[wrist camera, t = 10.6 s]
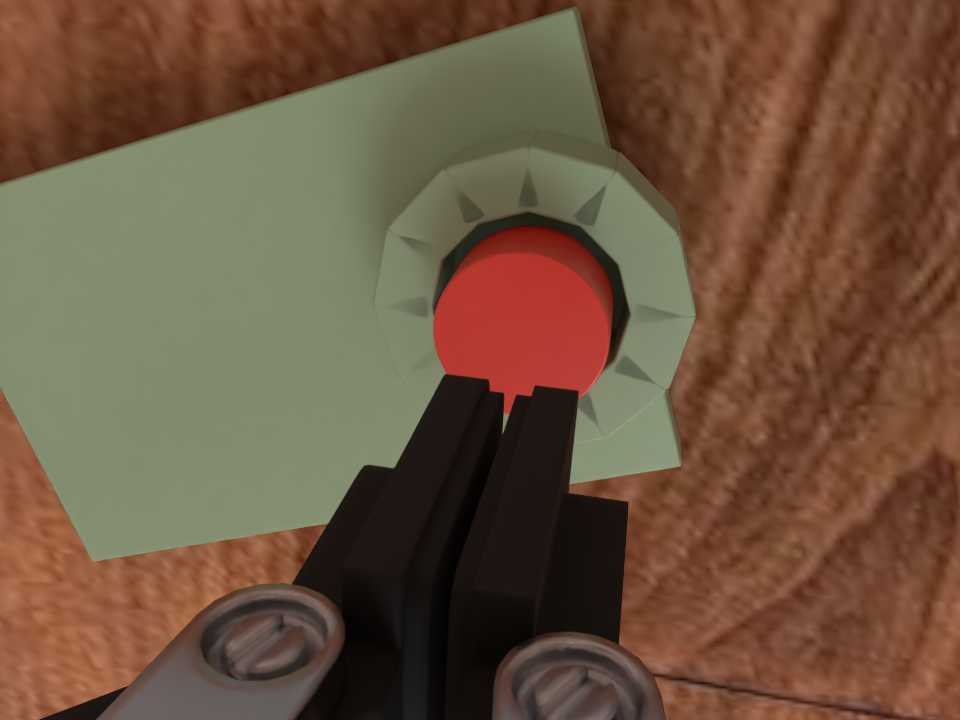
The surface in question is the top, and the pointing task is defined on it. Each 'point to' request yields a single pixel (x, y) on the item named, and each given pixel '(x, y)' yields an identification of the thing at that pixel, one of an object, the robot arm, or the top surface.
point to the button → (526, 313)
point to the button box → (317, 288)
